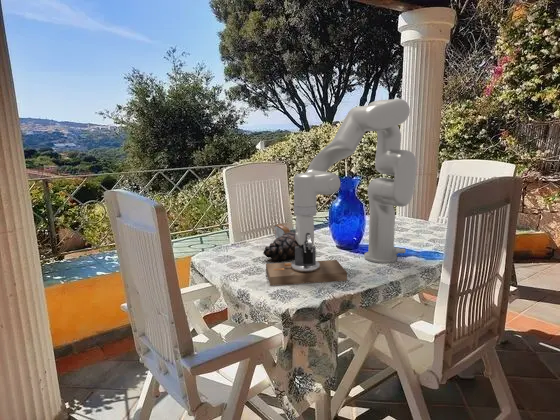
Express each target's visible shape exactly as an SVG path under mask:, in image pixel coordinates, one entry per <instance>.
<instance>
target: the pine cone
mask: <svg viewBox="0 0 560 420" xmlns="http://www.w3.org/2000/svg"><path fill="white" fill-rule="evenodd" d="M295 246H298V243H297V241H296V239H295V232H293V231H290V232H289V233H286V234H283V235H282V236H281V237H278V238H277V239H276V238H275V239H274V240H273V242H271V243H269V245H268V246H267V245H266V246H265V247H264V251H263V255H264V256H265V257H267V258H269V259H267V260H266V261H265V262H266V263H267V262H269V263H287V262H290V261H294V260H295Z"/></svg>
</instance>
